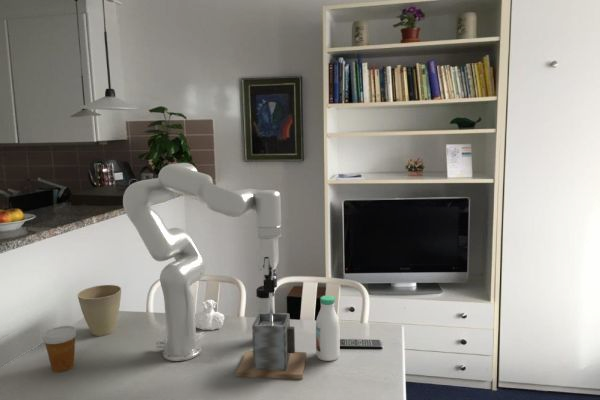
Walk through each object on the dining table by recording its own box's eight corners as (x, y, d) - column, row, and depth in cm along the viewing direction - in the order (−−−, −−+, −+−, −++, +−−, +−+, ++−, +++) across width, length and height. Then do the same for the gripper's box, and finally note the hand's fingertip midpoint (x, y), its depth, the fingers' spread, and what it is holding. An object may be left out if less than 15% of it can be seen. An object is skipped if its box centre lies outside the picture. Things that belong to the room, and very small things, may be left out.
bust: (225, 332, 174) (228, 303, 179) (221, 327, 167) (224, 297, 173) (194, 332, 175) (198, 303, 180) (189, 327, 168) (193, 297, 174)
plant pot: (72, 335, 168) (68, 294, 166) (106, 321, 181) (103, 282, 179) (99, 344, 161) (95, 301, 159) (132, 328, 174) (129, 288, 172)
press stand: (236, 376, 137) (234, 328, 135) (246, 354, 151) (244, 310, 149) (302, 379, 135) (301, 329, 133) (306, 356, 149) (305, 311, 147)
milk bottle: (343, 352, 151) (342, 295, 148) (334, 363, 144) (334, 303, 141) (321, 348, 154) (320, 292, 152) (312, 359, 147) (311, 299, 145)
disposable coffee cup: (45, 377, 139) (41, 340, 137) (46, 364, 147) (42, 329, 146) (80, 369, 143) (76, 333, 142) (79, 357, 152) (75, 322, 150)
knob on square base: (256, 333, 138) (254, 279, 135) (261, 323, 146) (259, 271, 143) (282, 334, 137) (281, 280, 135) (286, 323, 145) (284, 272, 142)
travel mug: (273, 345, 158) (272, 289, 155) (255, 343, 159) (253, 288, 156) (278, 337, 164) (276, 283, 161) (260, 335, 165) (259, 282, 162)
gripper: (261, 225, 146) (263, 280, 148) (250, 237, 129) (252, 299, 132) (285, 225, 145) (286, 281, 147) (276, 237, 128) (278, 299, 131)
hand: (270, 289), depth 140 cm, fingers closed on knob on square base, 4 cm apart
